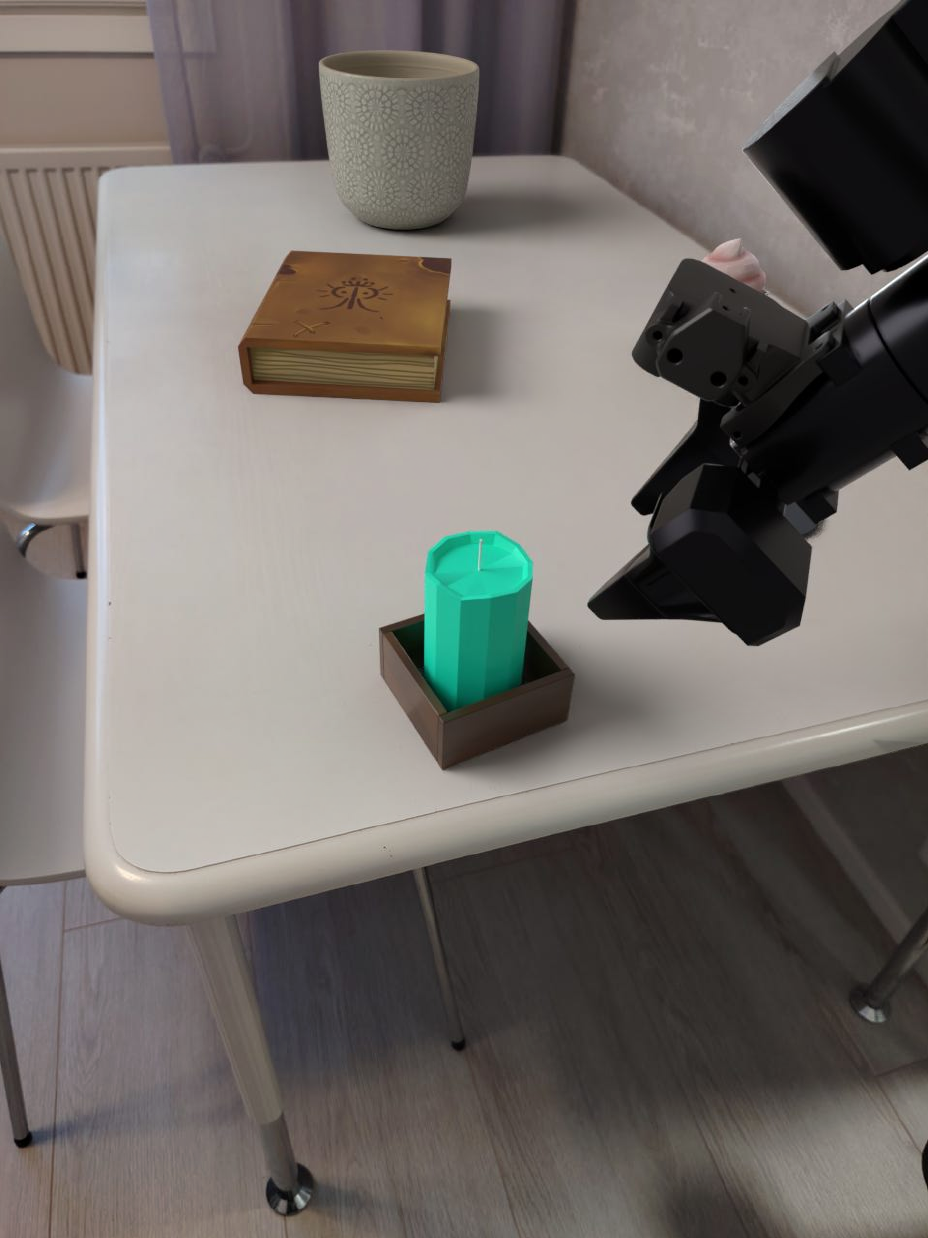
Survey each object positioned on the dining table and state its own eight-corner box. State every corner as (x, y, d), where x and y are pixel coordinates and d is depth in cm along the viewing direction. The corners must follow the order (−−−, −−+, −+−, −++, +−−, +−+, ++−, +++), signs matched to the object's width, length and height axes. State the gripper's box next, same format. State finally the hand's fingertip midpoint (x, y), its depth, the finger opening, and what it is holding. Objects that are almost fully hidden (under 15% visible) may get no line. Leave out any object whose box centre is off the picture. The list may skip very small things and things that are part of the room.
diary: (289, 301, 100) (284, 249, 96) (450, 309, 100) (451, 258, 96) (244, 393, 83) (236, 334, 79) (439, 402, 83) (440, 344, 79)
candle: (443, 653, 56) (447, 498, 49) (531, 677, 55) (550, 522, 47) (408, 717, 52) (407, 558, 44) (503, 745, 51) (518, 586, 43)
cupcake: (760, 351, 94) (786, 257, 87) (674, 341, 95) (693, 247, 89) (756, 318, 101) (780, 229, 94) (675, 309, 102) (693, 220, 96)
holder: (567, 720, 52) (575, 673, 50) (441, 770, 49) (443, 723, 47) (497, 634, 58) (501, 588, 55) (380, 674, 55) (378, 627, 52)
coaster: (843, 524, 69) (844, 520, 69) (759, 553, 66) (760, 549, 66) (764, 470, 75) (765, 466, 75) (683, 494, 72) (684, 490, 72)
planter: (298, 221, 122) (284, 63, 109) (384, 188, 135) (381, 44, 123) (421, 252, 114) (421, 85, 101) (499, 214, 128) (508, 63, 115)
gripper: (799, 139, 38) (557, 364, 48) (746, 279, 24) (429, 547, 35) (950, 328, 40) (688, 503, 51) (977, 548, 27) (615, 724, 37)
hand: (616, 555), depth 43 cm, fingers open, 9 cm apart
